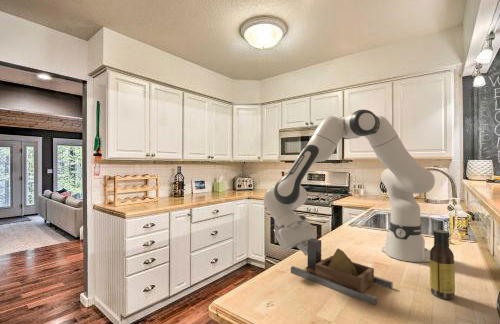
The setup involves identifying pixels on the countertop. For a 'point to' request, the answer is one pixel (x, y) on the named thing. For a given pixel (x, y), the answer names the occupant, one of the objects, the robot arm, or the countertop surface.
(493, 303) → the countertop surface
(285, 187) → the robot arm
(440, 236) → the sauce bottle
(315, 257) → the sled
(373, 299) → the rails
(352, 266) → the rock
